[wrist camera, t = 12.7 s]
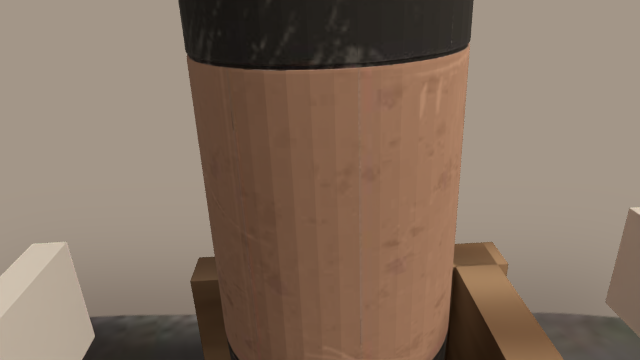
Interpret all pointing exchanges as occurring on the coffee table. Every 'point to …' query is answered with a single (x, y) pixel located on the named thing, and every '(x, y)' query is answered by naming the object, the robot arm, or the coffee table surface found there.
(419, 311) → the travel mug
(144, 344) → the coffee table surface
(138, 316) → the coffee table surface
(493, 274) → the wooden holder
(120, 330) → the coffee table surface
